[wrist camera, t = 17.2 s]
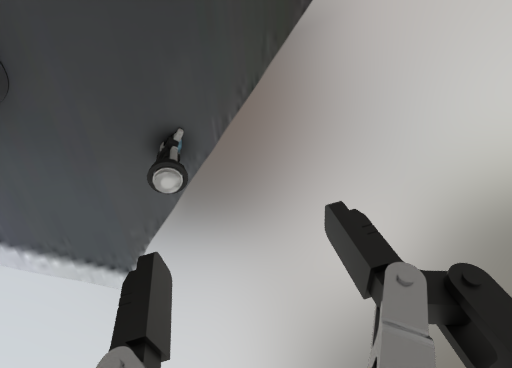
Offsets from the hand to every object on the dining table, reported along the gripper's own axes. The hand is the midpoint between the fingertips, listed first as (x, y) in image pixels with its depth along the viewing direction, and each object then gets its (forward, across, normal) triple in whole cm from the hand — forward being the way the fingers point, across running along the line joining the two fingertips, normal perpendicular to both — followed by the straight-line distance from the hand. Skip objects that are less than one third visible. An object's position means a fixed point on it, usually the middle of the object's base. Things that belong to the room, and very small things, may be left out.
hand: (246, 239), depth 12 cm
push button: (+32, +8, +10) cm, 35 cm away
